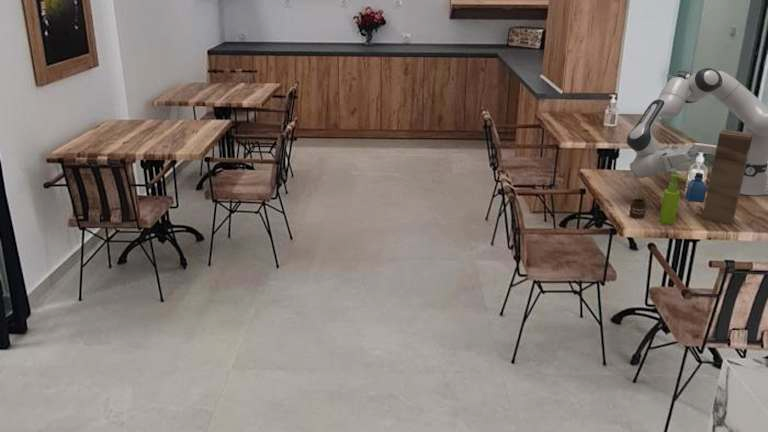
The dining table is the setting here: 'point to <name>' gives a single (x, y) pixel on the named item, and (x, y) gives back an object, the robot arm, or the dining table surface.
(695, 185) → the perfume bottle
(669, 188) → the soap dispenser
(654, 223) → the dining table surface
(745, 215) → the dining table surface
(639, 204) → the utensil holder
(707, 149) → the rod
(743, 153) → the stand
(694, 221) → the dining table surface
